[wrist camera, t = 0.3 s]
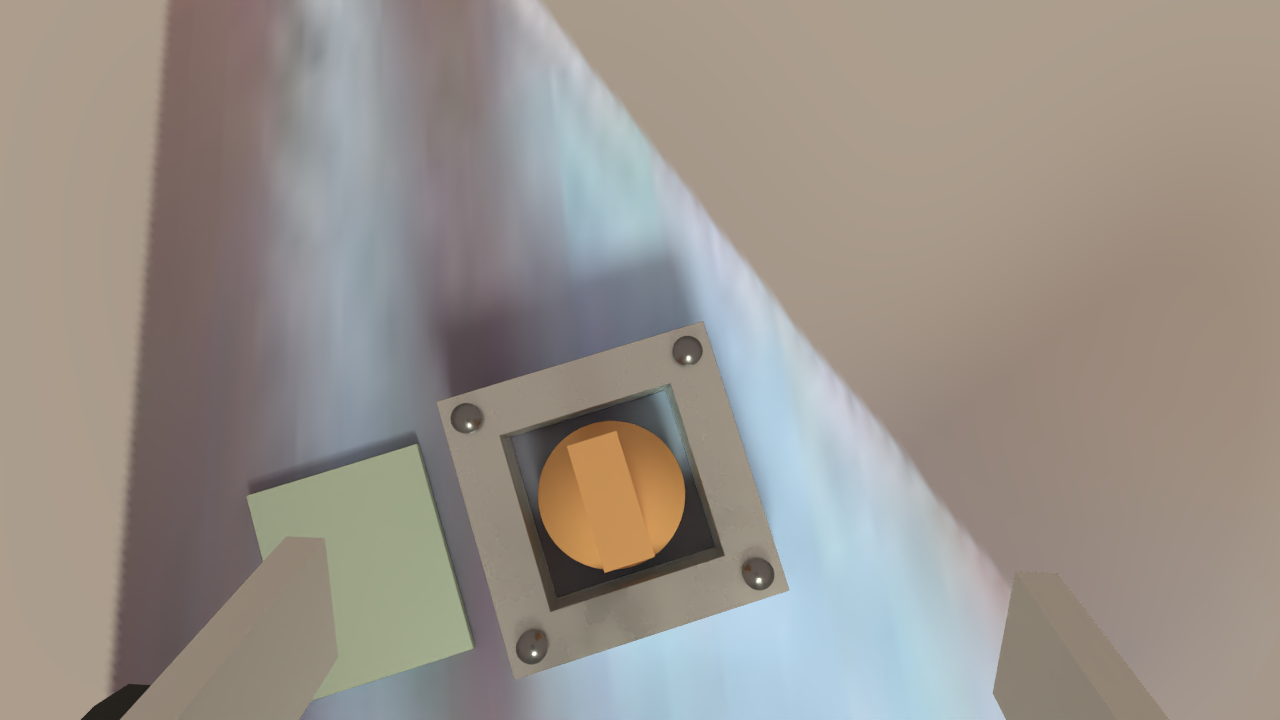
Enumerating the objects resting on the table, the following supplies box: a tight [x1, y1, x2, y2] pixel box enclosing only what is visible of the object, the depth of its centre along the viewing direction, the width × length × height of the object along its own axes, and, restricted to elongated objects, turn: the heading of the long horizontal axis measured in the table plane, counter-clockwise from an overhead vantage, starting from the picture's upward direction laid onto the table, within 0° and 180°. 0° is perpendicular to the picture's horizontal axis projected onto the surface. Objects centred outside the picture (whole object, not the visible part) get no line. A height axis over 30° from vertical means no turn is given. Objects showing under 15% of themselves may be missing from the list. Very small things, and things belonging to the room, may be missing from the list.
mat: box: [247, 444, 475, 701], centre depth 47 cm, size 12×10×1 cm
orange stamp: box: [538, 421, 685, 573], centre depth 43 cm, size 8×8×10 cm
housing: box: [437, 321, 789, 679], centre depth 46 cm, size 15×15×5 cm
